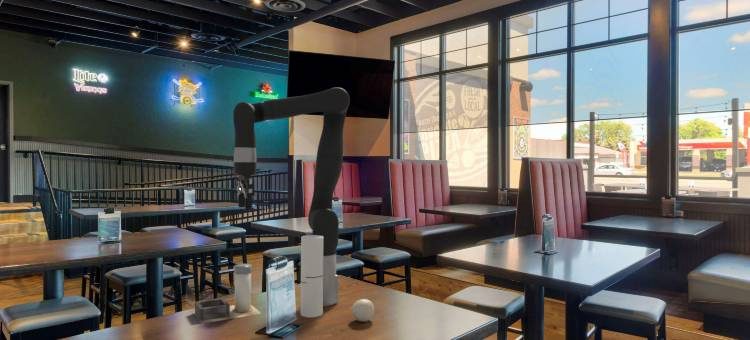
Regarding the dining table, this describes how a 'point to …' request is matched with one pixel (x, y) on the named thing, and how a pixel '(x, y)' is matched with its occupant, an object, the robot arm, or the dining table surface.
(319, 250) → the cylindrical container
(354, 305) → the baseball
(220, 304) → the socket board
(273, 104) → the robot arm
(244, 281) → the cylinder
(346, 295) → the dining table surface
